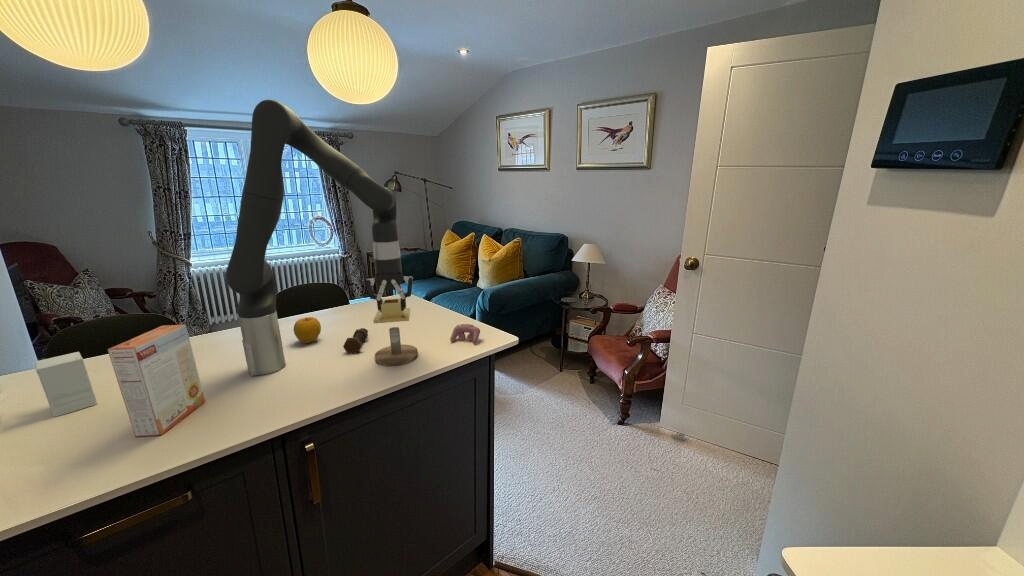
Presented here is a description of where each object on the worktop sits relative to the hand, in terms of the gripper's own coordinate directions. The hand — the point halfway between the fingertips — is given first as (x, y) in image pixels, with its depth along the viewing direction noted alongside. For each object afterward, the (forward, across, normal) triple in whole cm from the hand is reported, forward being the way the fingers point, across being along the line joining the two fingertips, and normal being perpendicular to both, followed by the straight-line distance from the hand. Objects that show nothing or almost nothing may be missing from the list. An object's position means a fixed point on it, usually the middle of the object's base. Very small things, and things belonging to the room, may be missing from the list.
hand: (392, 310), depth 117 cm
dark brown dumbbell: (+16, -14, +14) cm, 25 cm away
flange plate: (+2, 0, 0) cm, 2 cm away
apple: (+15, -31, +20) cm, 40 cm away
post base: (+15, 0, 0) cm, 15 cm away
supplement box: (+15, -76, -12) cm, 79 cm away
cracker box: (+15, -49, -24) cm, 56 cm away
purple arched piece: (+16, +22, +8) cm, 29 cm away
